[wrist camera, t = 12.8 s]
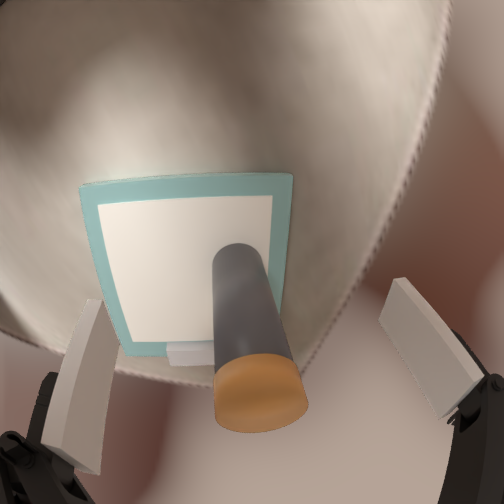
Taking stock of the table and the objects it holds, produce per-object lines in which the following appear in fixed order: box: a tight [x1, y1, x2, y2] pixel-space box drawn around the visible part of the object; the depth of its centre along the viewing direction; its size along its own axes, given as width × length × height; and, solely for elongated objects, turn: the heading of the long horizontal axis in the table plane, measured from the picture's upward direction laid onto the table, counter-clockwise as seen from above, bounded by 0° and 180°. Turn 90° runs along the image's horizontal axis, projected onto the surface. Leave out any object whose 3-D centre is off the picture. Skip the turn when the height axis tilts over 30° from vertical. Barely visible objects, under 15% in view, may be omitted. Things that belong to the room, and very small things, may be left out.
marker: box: [212, 243, 308, 433], centre depth 17 cm, size 4×4×13 cm
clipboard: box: [79, 172, 293, 366], centre depth 23 cm, size 18×16×2 cm
